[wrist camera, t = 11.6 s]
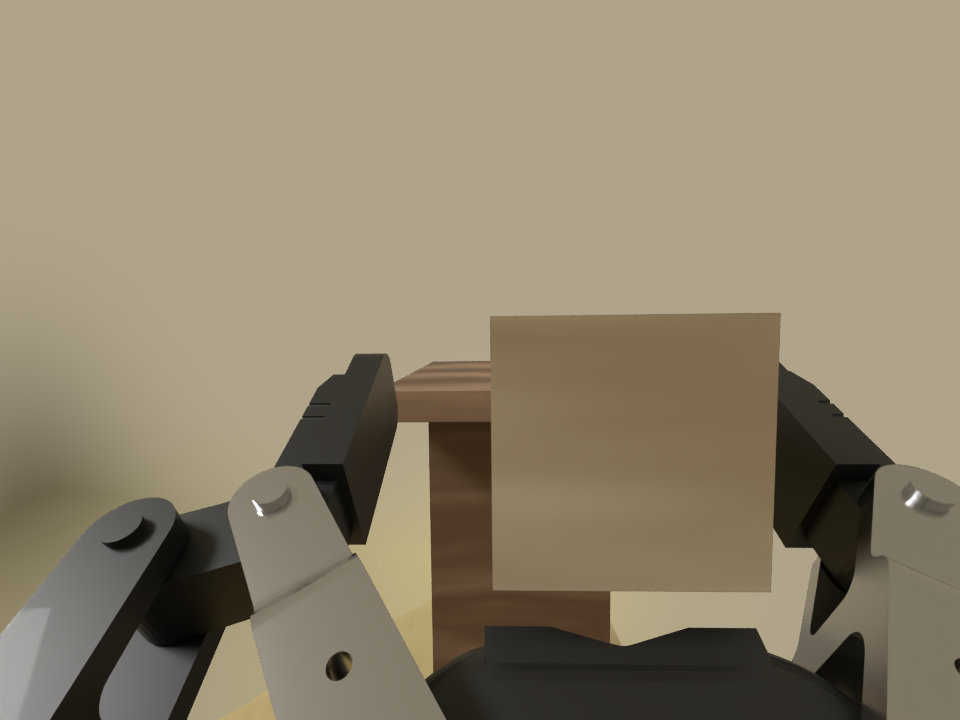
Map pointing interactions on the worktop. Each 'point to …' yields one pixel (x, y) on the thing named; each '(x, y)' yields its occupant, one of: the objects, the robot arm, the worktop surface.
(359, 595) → the robot arm
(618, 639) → the worktop surface
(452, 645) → the stand
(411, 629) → the worktop surface
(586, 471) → the bar
